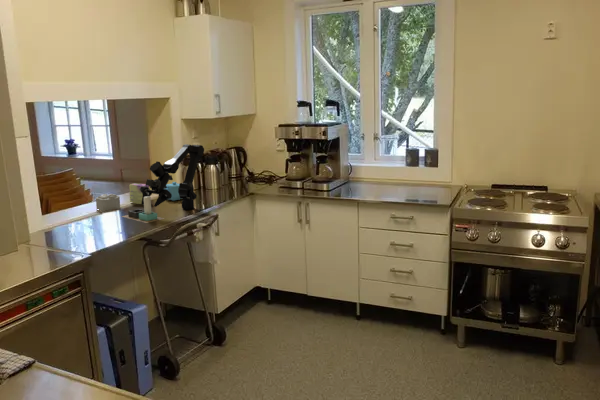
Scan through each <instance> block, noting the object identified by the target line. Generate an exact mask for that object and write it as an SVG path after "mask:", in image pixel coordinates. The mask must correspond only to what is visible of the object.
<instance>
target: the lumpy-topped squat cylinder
mask: <svg viewBox="0 0 600 400" xmlns="http://www.w3.org/2000/svg"><path fill="white" fill-rule="evenodd" d="M95 204H96V205H95V208H96V210H97V209H99V210H101V211H102V212H105V211H110V210H120V209H121V199H120V195H117V194H114V193H109V194H107V193H104V194H102V195H99V196H97V197H95ZM101 211H100V212H101ZM102 212H101V213H102Z"/></svg>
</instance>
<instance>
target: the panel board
mask: <svg viewBox="0 0 600 400" xmlns="http://www.w3.org/2000/svg"><path fill="white" fill-rule="evenodd" d="M127 213H128V214H126V215H122V216H120V217H121V218H126V219H129V220H134V221H137V222H142V223H145V224H148V223H153V222H157V221H161V220H164V219H165V218H164V217H159V216H157V219H154V220H149V221H145V220H141V219H139V213H144V209H142V208H141V209H140V208H136V209H132V210H131V209H130V210H127Z"/></svg>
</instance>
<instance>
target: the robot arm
mask: <svg viewBox="0 0 600 400" xmlns="http://www.w3.org/2000/svg"><path fill="white" fill-rule="evenodd" d="M204 152H205V148H204V146H203V145H201V144H183V145H182V147H181V148H180V149H179V151H177V153H176V154H175V155H174V156H173V157H172V158H171V159H168V160H167V161H165V162H164V163H163V165H162V163H161V162H160V161H156V162H155V163H153V164H151V165H150V166H149V171H150V172H151V173H152V174H153V175H154V177H156V178H155V179H149V178H147V179H146V183H145V184H146V185H148V186H149V188H148V187H145V186H142V187H141V188H140V191H141V192H142V194H143V197H142V203H141V204H140V205H142V206H144V197H146V196H150V197H151V196H152V195H158V197H157V199H156V201H155V203H154V207H158V206H159V205H161V204H162V203H164V202H166V201H169V200H168V199H170V198H171V197H172V194H171V193H170V192H169V191H168V190H167V189H164V188H167V186H166V185H167V184H169V181H173V180H174V179H173V175H174V174H176V173H177V171H178V170H179V168H180V164H181V163H182V162H183V160H184V159H185V158H186V157H187V156H188V155H189V161H188V162H189V163H188V165H187V169H186V173H185V176H184V180H183V182H179V183H178V184H179V188H178V193H179V196H180V198H182V199H183V200H181V208H182V210H183V211H188V210H189V211H191V210H192V211H193V210H195V206H194V205H195V203H194V202H195V200H196V199H197V197H198V196H197V194H196V192H195V191H194V189H195V188H194V178H195V175H196V172H197V168H198V163H199V160H201V158H203V157H204V156H203V155H204ZM171 174H172V175H171Z"/></svg>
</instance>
